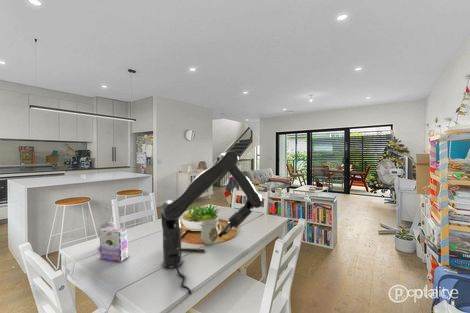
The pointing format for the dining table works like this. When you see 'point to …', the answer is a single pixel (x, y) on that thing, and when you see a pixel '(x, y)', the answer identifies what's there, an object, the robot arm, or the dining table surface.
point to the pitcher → (210, 231)
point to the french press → (107, 224)
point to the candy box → (113, 244)
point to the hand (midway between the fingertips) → (219, 236)
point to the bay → (191, 248)
